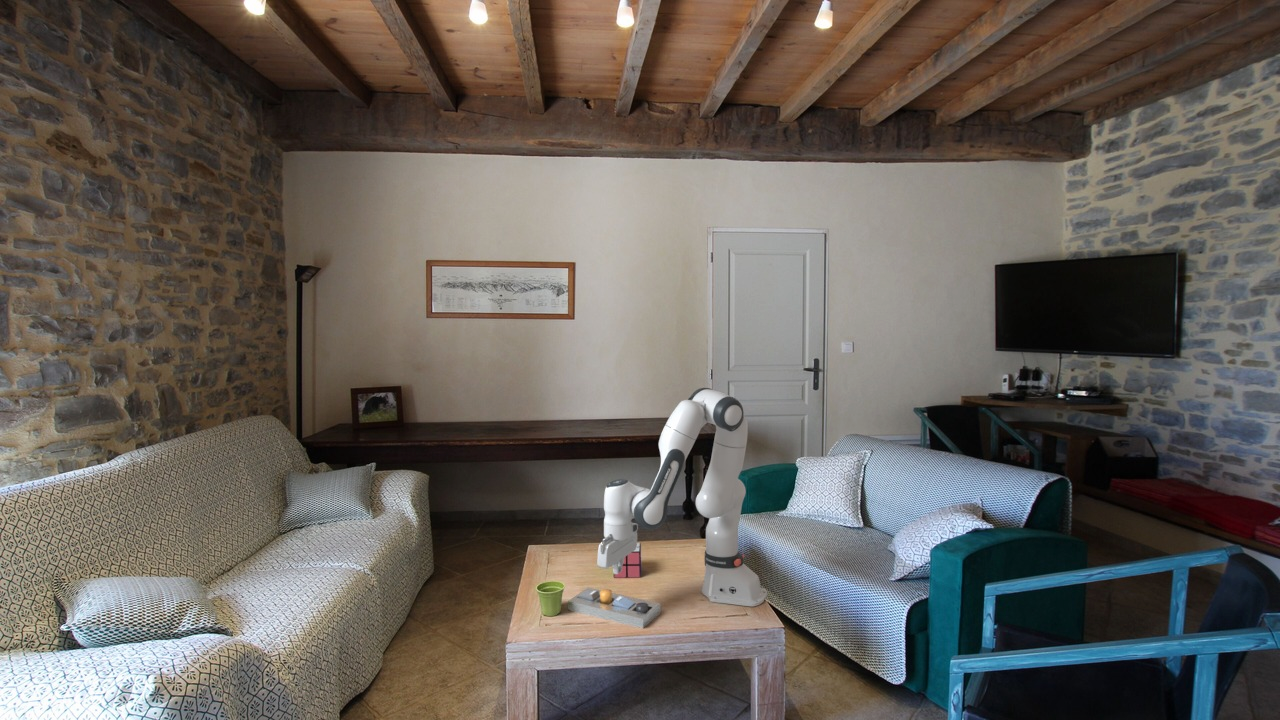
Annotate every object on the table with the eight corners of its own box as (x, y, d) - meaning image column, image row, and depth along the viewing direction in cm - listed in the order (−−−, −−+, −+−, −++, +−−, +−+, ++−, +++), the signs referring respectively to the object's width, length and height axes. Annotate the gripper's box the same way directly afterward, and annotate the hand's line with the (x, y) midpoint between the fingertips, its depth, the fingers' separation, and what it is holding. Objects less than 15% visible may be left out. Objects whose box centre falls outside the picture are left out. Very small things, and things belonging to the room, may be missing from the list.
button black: (650, 615, 198) (650, 603, 198) (644, 619, 195) (644, 608, 195) (639, 612, 200) (639, 601, 200) (634, 617, 197) (634, 606, 196)
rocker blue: (633, 607, 201) (634, 602, 201) (627, 612, 198) (628, 607, 197) (619, 600, 204) (620, 594, 203) (612, 605, 200) (614, 599, 200)
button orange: (614, 601, 204) (613, 590, 204) (608, 605, 201) (607, 594, 201) (604, 598, 206) (604, 588, 206) (598, 603, 203) (597, 592, 203)
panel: (660, 612, 201) (660, 603, 201) (643, 628, 190) (642, 618, 190) (588, 596, 214) (588, 587, 214) (568, 609, 204) (567, 601, 204)
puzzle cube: (640, 578, 229) (640, 551, 229) (613, 578, 230) (613, 551, 229) (641, 567, 239) (640, 542, 239) (615, 568, 240) (614, 542, 239)
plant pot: (538, 621, 196) (537, 594, 196) (534, 608, 205) (534, 582, 205) (567, 616, 199) (567, 590, 199) (562, 604, 208) (562, 579, 208)
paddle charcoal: (599, 595, 207) (598, 589, 207) (592, 600, 204) (591, 594, 204) (586, 596, 210) (584, 591, 210) (579, 601, 206) (578, 595, 207)
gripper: (609, 541, 189) (609, 586, 190) (640, 523, 207) (640, 563, 208) (592, 538, 192) (592, 582, 193) (624, 520, 210) (624, 560, 211)
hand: (617, 572), depth 200 cm, fingers closed
